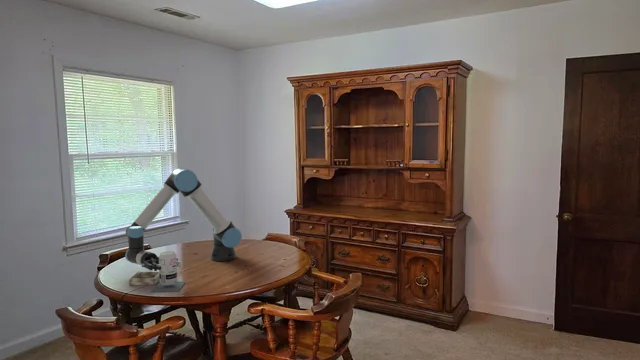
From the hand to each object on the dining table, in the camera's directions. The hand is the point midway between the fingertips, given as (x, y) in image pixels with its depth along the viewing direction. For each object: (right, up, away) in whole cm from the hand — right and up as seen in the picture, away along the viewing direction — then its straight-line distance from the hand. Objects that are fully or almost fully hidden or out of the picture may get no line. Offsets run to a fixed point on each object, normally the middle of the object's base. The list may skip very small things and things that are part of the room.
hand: (173, 266), depth 205 cm
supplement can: (-4, -9, +4) cm, 10 cm away
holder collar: (-19, -10, +14) cm, 25 cm away
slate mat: (-4, -11, +4) cm, 12 cm away
